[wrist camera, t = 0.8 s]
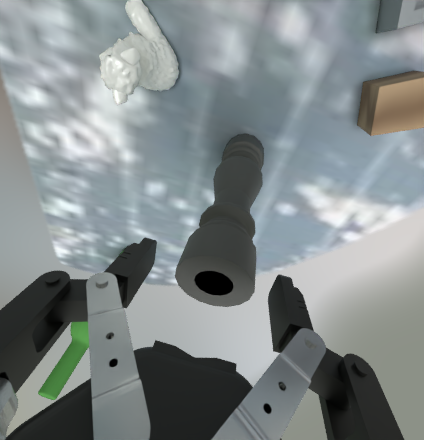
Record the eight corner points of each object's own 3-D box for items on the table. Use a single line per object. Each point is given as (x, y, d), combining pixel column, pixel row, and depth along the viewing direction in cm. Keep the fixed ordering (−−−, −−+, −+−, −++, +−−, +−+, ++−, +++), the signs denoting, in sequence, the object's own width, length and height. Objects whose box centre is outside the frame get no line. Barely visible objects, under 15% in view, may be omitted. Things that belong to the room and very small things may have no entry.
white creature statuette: (134, -9, 25) (57, -45, 16) (197, 38, 27) (160, 31, 17) (116, 74, 31) (52, 83, 22) (169, 109, 33) (130, 132, 23)
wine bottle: (122, 242, 54) (14, 383, 31) (151, 252, 54) (65, 400, 31) (122, 260, 59) (29, 393, 36) (149, 269, 59) (73, 408, 36)
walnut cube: (363, 81, 26) (379, 86, 22) (413, 70, 25) (440, 74, 21) (356, 124, 29) (370, 135, 25) (401, 117, 27) (424, 127, 24)
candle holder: (271, 156, 34) (277, 295, 14) (241, 178, 37) (212, 315, 18) (247, 124, 32) (216, 238, 12) (217, 151, 35) (154, 272, 16)
